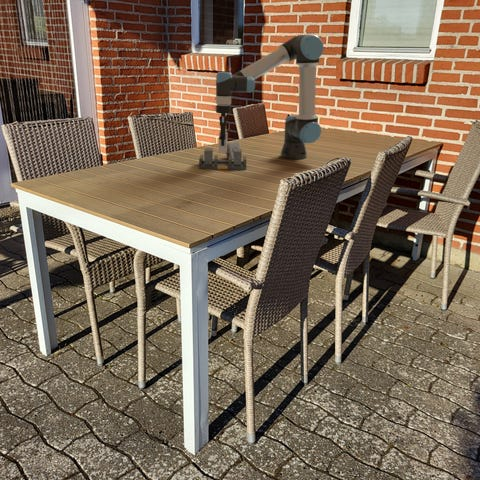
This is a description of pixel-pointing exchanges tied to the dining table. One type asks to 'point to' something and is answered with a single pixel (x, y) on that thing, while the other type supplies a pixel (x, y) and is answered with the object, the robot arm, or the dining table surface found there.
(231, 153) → the electrical switch
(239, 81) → the robot arm
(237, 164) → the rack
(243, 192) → the dining table surface
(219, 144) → the grey block
